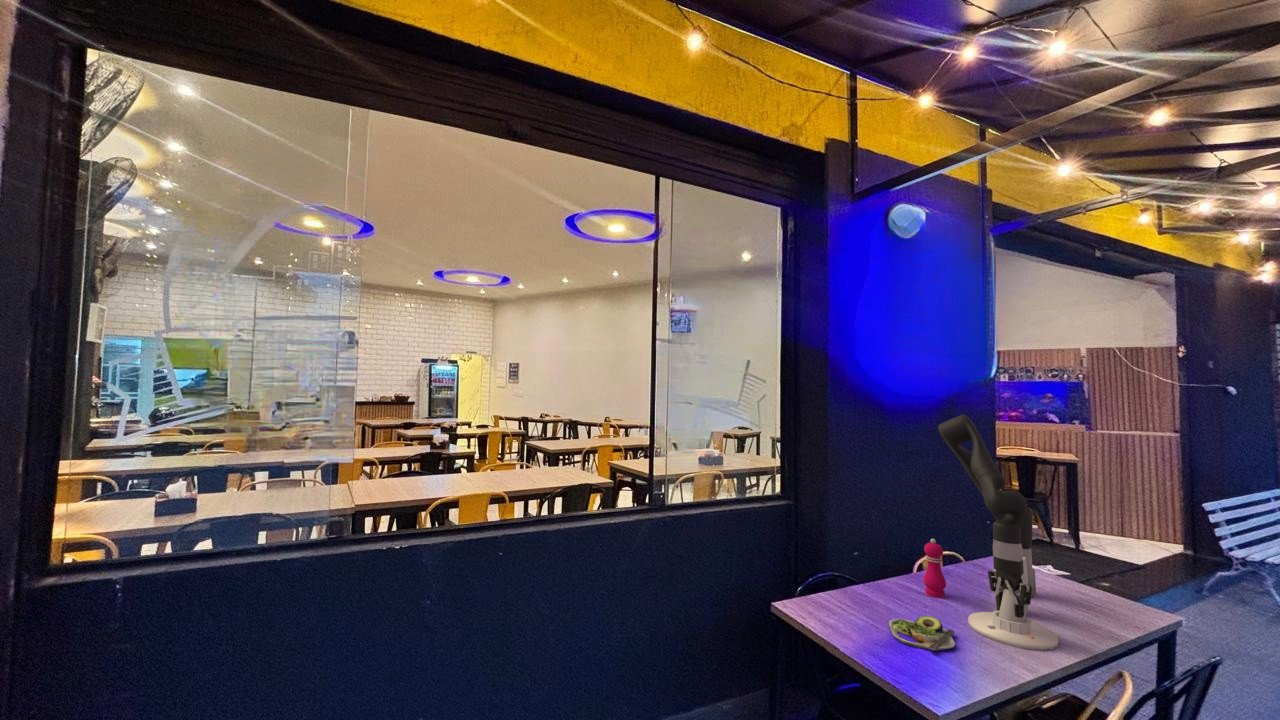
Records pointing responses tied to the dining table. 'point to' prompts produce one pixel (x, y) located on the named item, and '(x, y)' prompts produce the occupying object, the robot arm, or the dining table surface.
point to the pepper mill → (934, 570)
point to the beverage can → (1010, 608)
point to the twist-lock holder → (1013, 631)
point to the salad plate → (923, 633)
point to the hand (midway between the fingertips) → (1010, 612)
